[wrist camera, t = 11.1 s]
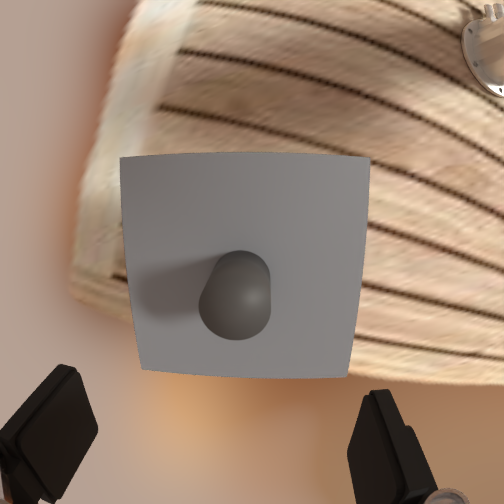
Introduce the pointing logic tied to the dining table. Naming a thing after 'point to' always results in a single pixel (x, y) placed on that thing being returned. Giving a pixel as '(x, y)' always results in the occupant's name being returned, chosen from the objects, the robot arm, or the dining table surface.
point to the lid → (245, 261)
